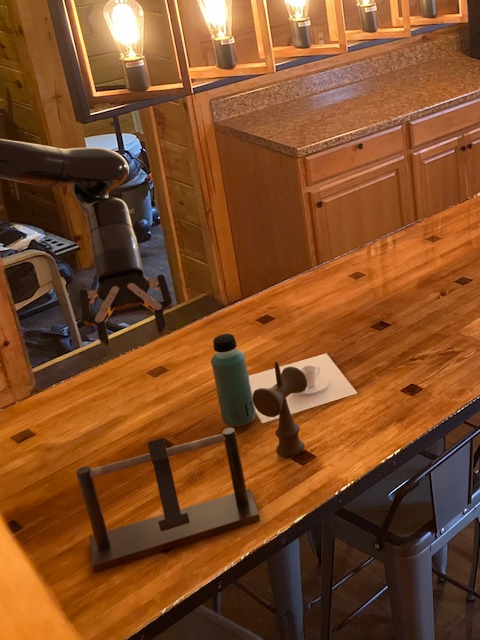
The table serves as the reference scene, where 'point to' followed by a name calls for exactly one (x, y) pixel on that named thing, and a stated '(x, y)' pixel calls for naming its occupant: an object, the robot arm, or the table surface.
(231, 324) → the table surface
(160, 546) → the rail stand
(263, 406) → the kendama
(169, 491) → the hook hanger
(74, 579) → the table surface
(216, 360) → the beverage bottle
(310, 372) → the teacup and saucer
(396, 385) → the table surface
